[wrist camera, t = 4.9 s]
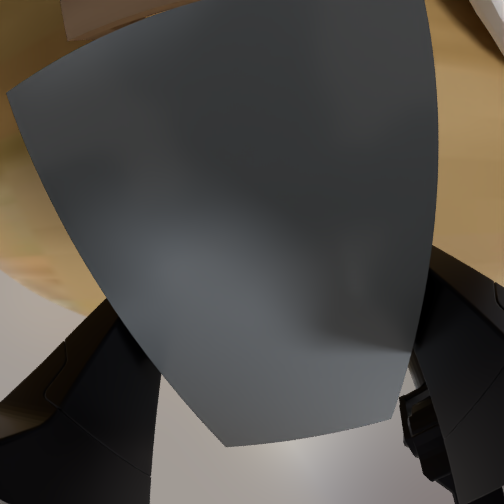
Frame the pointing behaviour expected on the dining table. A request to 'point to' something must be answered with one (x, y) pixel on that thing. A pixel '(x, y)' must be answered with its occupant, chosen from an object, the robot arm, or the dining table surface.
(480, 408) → the robot arm
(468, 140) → the dining table surface
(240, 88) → the slate slab
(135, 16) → the walnut shelf
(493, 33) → the plate
